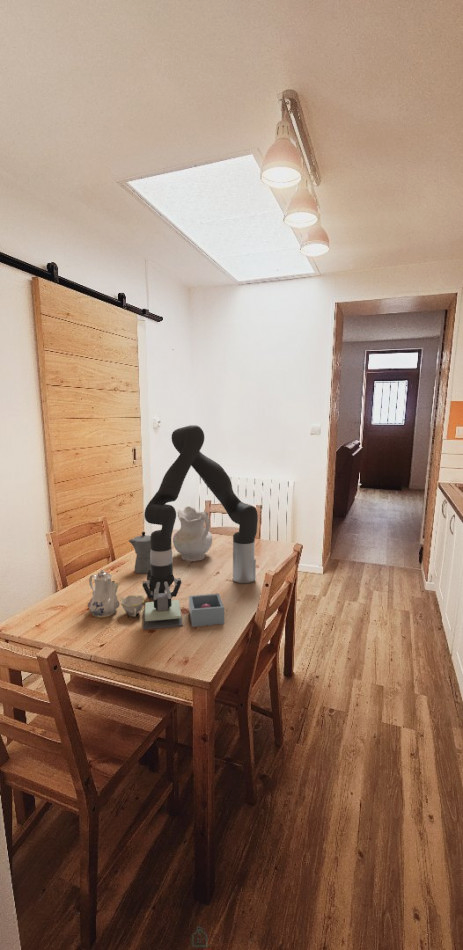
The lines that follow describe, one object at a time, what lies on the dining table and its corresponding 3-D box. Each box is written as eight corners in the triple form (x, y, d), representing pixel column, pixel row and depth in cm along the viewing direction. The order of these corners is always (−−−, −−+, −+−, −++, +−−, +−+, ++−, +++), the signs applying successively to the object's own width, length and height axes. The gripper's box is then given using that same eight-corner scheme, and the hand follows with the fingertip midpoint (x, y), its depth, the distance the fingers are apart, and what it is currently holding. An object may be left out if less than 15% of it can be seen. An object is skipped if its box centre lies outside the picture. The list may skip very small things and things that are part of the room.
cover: (179, 601, 151) (178, 586, 150) (181, 618, 140) (180, 602, 139) (145, 604, 149) (145, 589, 148) (144, 621, 138) (144, 604, 137)
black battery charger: (146, 598, 160) (145, 570, 159) (151, 593, 164) (150, 566, 162) (162, 600, 158) (161, 572, 156) (166, 596, 162) (166, 568, 160)
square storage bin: (219, 608, 152) (219, 593, 151) (224, 623, 141) (224, 607, 140) (189, 611, 150) (188, 595, 149) (191, 626, 139) (191, 610, 138)
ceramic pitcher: (223, 558, 206) (225, 509, 204) (199, 568, 190) (201, 514, 188) (189, 550, 218) (190, 503, 215) (164, 559, 201) (165, 508, 199)
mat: (180, 608, 152) (180, 606, 152) (182, 626, 140) (182, 624, 140) (144, 611, 150) (144, 609, 150) (143, 629, 137) (143, 628, 137)
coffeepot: (131, 576, 181) (130, 536, 178) (128, 568, 190) (126, 530, 187) (166, 571, 187) (165, 532, 184) (161, 563, 196) (160, 527, 193)
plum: (210, 611, 148) (210, 601, 147) (212, 617, 144) (212, 606, 143) (199, 612, 147) (199, 602, 146) (201, 618, 143) (200, 607, 143)
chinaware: (153, 617, 149) (156, 572, 148) (114, 631, 136) (116, 582, 135) (107, 595, 167) (109, 554, 165) (68, 606, 154) (70, 562, 152)
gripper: (181, 555, 147) (182, 601, 149) (140, 558, 144) (142, 604, 147) (183, 563, 139) (183, 611, 142) (140, 566, 137) (141, 615, 139)
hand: (162, 607), depth 144 cm, fingers closed on cover, 3 cm apart
